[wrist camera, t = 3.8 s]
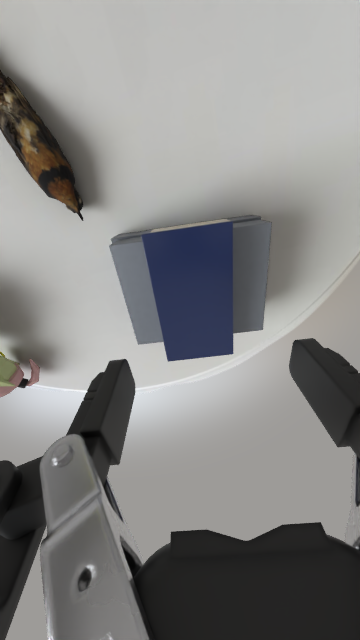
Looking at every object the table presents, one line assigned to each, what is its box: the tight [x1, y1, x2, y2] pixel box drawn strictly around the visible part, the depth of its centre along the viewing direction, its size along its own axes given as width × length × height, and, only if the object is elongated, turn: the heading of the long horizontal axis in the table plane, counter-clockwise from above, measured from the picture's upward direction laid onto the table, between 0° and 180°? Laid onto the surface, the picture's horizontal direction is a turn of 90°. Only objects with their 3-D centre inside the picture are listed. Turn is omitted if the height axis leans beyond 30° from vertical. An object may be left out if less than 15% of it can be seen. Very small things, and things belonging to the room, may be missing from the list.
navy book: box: [141, 219, 233, 361], centre depth 17 cm, size 6×11×2 cm, turn 8°
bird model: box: [0, 70, 83, 221], centre depth 15 cm, size 3×14×3 cm, turn 23°
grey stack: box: [109, 215, 272, 345], centre depth 20 cm, size 13×10×5 cm
